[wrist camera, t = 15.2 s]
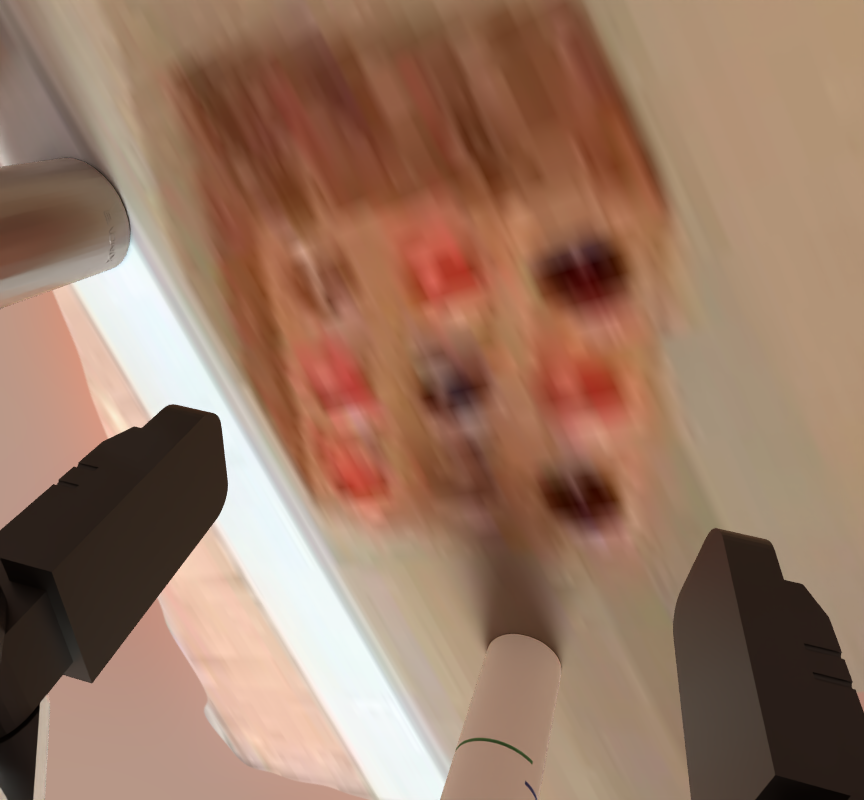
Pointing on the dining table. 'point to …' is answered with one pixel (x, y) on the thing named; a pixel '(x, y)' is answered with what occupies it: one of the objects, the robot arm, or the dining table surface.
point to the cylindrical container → (507, 723)
